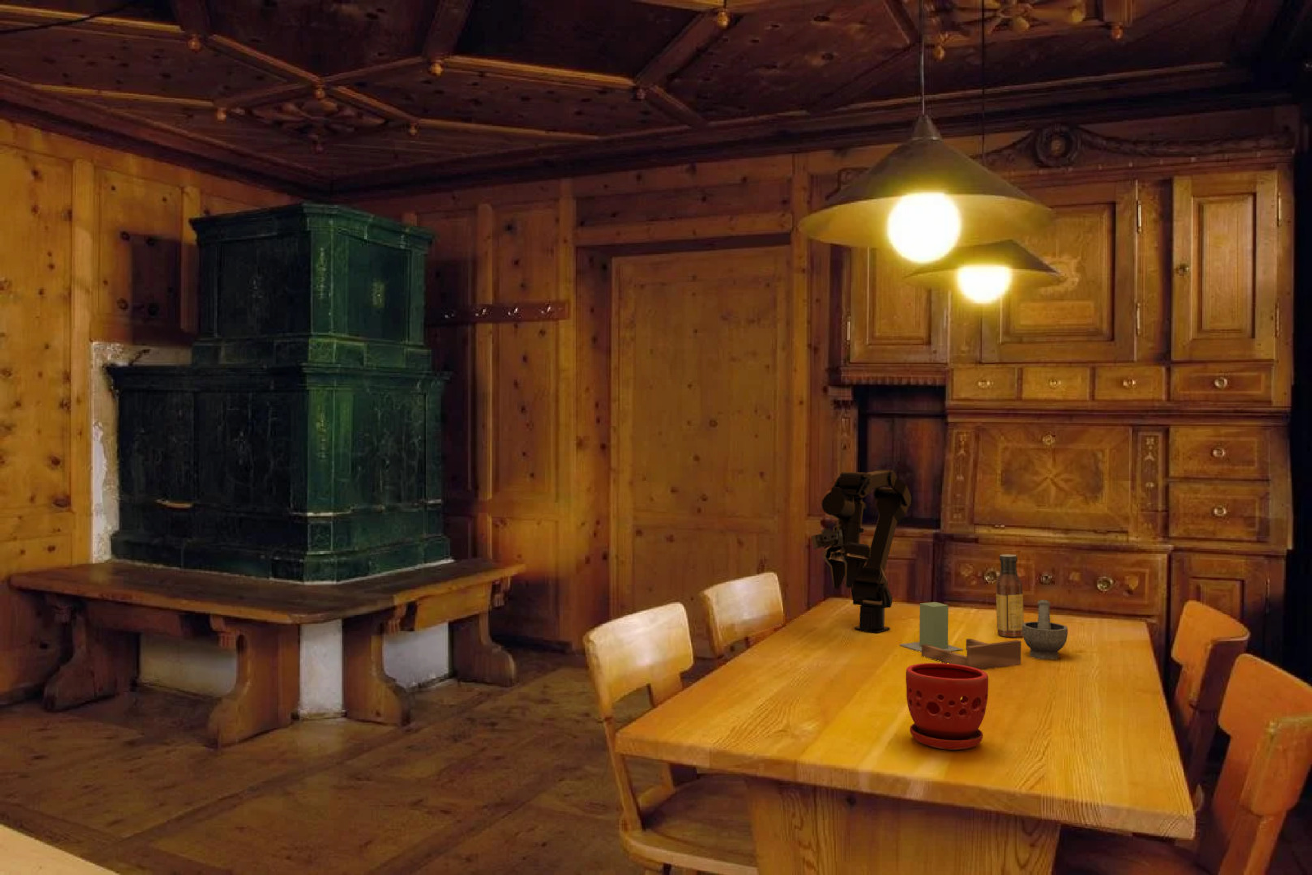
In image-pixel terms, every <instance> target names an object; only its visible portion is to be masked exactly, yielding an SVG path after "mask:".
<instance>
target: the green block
mask: <svg viewBox="0 0 1312 875" xmlns="http://www.w3.org/2000/svg"><path fill="white" fill-rule="evenodd" d="M918 637H919V641H918V642H919V646H920V647H922V645H923V644H927V645H930V646H934V647H937V648H940V649H948V645H949V605H948V604H944V603H941V602H936V601H933V602H932V601H931V602H923V603H922V602H921V603H919V636H918Z"/></svg>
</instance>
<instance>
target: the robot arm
mask: <svg viewBox="0 0 1312 875" xmlns="http://www.w3.org/2000/svg"><path fill="white" fill-rule="evenodd" d="M886 486H887V487H886ZM888 486H889V487H888ZM872 490H873V491H872ZM871 493H872V496H873V498H874V500H875V508H876V509H877V512H878V519H877V521H876V526H875V529H874V533H873V537H872V540H871V544H870V545H869V544H865V543H860V541H861V534H864V531H865V530H864V528H863V527H862V525H863V523H862V522H863V516H864V515H863V514H864V509H866V507H867V506H866V503H865V502H864V501H863V499H864V497H868V496H869V495H870V494H871ZM911 503H912V495H911V493H910V490H909V488H908V486H907V484H906V483H905V482H903V480H901V479H900V478H899V477H898V476H897V474H896V472H895V471H893V470H892V469H891V470H890V469H877V470H874V471H870V472H869V471H868V472H858V471H857V472H856V471H842V472H841V473H840V474H839V476H838V477H837V479H836V481H835V483H834V484H833V486H832V487H831V490H830V492H828V493H827V494H826V495H825V496H824V497H823V499H822V501H821V508H822V510H823V512H824V513H825V514H826V515H828V516H831V517H833V518H836V519H837V523H836V525H835V526H833V527H832V529H831V528H830V527H828V528H823V529H821V532H820V533H819V534H814V535H812V536H811V541H812V547H813V549H814V550H818V549H820V548H824V549H823V550H822V556H821V557H822V559H823V561H824V562H825V563H827V565H828V566H829V567H830V571H831V580H832V586H833V589H834V590H839V589H840V587H841V584H842V582H843V580H845V581H844V582H845V588H847V589H850V590H851V591H850V593H851V597H852V599H851V600H852V605H855V606H856V605H857V606H859V625H858V626H854V629H855V630H857V631H858V630H859V631H864V632H869V633H875V634H878V633H881V632H885V631H890V629H891V628H890V626H885V619H886V618H885V613H886V612H885V609H888V608H889V609H890V608H892V604H893V595H892V594H891V591H890V589H889V587H888V585H889V582H888V578H887V576H886V574H885V569H886V566H887V563H888V558H889V555H890V552H891V547H892V543H893V539H894V535H895V533H896V528H897V525H898V522H899V521H900V520H901V519H903V518H904V516H906V514H907V512H908V509H909V507H910V506H911ZM826 546H827V547H826ZM825 547H826V548H825Z"/></svg>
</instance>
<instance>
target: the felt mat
mask: <svg viewBox="0 0 1312 875" xmlns="http://www.w3.org/2000/svg"><path fill="white" fill-rule="evenodd" d="M899 646H901V647H903V646H904V647H903V648H906V647H907V648H906V649H909V650H913V651H916V650H917V651H916V652H919V651H920V653H922V647H920V646H919V641H916V642H914V641H913V642H909V643H900V644H899ZM944 650H947V651H954V652H958V651H957V650H961V651H963V650H964V649H963V648H961V647H957V646H953V645H950V644H948V649H944Z"/></svg>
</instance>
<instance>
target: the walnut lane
mask: <svg viewBox="0 0 1312 875" xmlns="http://www.w3.org/2000/svg"><path fill="white" fill-rule="evenodd" d="M965 651H966V655H963V654H959V653H956V652H955V651H954V652H950V651H947V650H944V649H940V648H937V647H934V646H930V645H927V644H923V645H922V652H921V656H922V655H923V656H922V657H924V656H925V657H924V658H927V657H928V659H930V658H931V659H930V660H933V659H936V660H935V661H937V660H939V661H938V662H940V661H941V662H940V663H943V662H944V663H949V664H957V665H964V666H969V667H973V668H977V669H980V670H982V669H983V670H982V671H984V670H988V668H991V669H996V668H995V667H997V668H1003V667H1010V666H1017V664H1018V665H1021V664H1022V661H1021V660H1022V641H1021V640H1018V639H1015V640H1014V639H1013V640H1006V641H999V642H993V643H987V642H983V641H979V640H978V639H977V640H976V639H973V638H966V639H965Z"/></svg>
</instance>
